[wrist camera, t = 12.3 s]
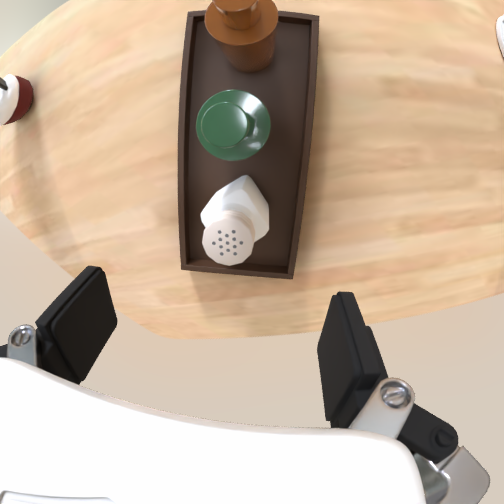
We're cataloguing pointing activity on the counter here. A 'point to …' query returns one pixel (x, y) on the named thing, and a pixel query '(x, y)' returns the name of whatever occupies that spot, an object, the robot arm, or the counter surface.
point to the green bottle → (233, 125)
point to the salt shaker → (234, 221)
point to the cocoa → (14, 98)
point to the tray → (266, 159)
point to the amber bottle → (244, 32)
